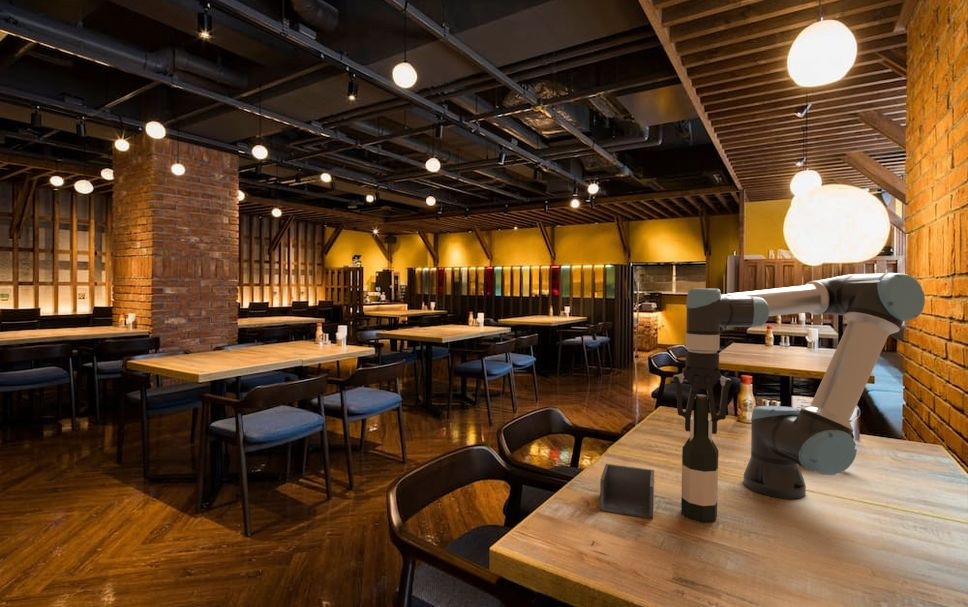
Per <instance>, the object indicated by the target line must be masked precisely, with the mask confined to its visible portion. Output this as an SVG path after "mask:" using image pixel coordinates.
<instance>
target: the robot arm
mask: <svg viewBox="0 0 968 607" xmlns="http://www.w3.org/2000/svg"><path fill="white" fill-rule="evenodd" d="M925 304H926V297H925V292H924V291H923V288H922V285H921V284H920V282H919V281H918V280H917V279H916V278H914V277H913V276H911V275H909V274H906V273H903V272H902V273H900V272H898V273H897V272H890V271H888V272H884V273H882V272H881V273H852V274H851V273H849V274H845V275H839V276H834V277H830V278H825V279H823V278H822V279H819V280H812V281H811V280H810V281H808V282H806V283H805V284H804V285H797V286H787V287H777V288H769V289H761V290H759V289H758V290H752V291H751V290H750V291H742V292H733V293H732V292H731V293H726V294H724V293H721V290H720V289H719V288H691V289H689V290H688V291H687V296H686V305H685V308H686V322H685V323H686V332H685V349H686V350H687V351H686V352H685V366H684V367H685V368H684V370H683V372H681V373H679V374H673V376H672V378H673V379H672V380H673V382H674V384H675V389H676V405H677V406H676V408H677V415H678V416H679V417H680V416H681V417H683V418H684V429H685V431H686V432H689V437H690V441H691V440H692V438H693V437H694V416H693V417H692V414H693V410H694V400H695V397H696V395H697V392H698V390H700V389H702V390H706V393H707V394H706V396H707V399H708V400H709V413H710V418H708V438H709V439H710V441H711V443H712V440H713V435H717V433H718V422H719V421H720V420H723V421H724V420H725V419H726V417H727V409H728V408H727V407H728V400H729V399H728V398H729V389H730V388H731V386H732V383H733V381H732V379H731V378H729V377H725V376H723V375H722V374H721V372H720V353H719V352H718V351H720V344H721V343H720V337H721V336H720V335H721V334H720V333H721V327H722V328H726V327H727V328H728V327H729V328H731V327H733V328H737V327H738V328H740V327H741V328H743V327H744V328H753V327H754V328H755V327H761V326H763V325H765V324H766V322H767V321H768V320H769V317H776V316H785V315H787V316H788V315H794V314H796V315H797V314H802V313H803V314H804V313H809V314H811V315H815V316H817V315H835V316H836V315H837V316H844V318H845V319H846V321H847V325H846V327H845V330H844V331H843V334H842V336H841V339H840V340H839V343H838V345H837V347H836V349H835V351H834V353H833V355H832V357H831V360H830V362H829V364H828V366H827V368H826V370H825V373H824V374H823V377H822V380H821V382H820V384H819V386H818V388H817V390H816V393H815V395H814V397H813V398H812V401H811V403H810V405H807V406H805V407H802V408H800V409H799V408H797V407H791V406H781V405H780V406H779V405H759V406H755V407H754V408H753V409H752V412H751V418H750V421H751V423H750V424H751V428H750V429H751V430H750V431H751V432H750V433H751V438H750V439H751V441H750V442H751V444H750V458H749V461H748V462H747V463H748V464H747V466H746V468H745V470H744V472H743V479H742V480H743V484H744V486H745V487H746V488H748V489H750V490H752V491H754V492H756V493H758V494H762V495H765V496H769V497H772V498H780V499H790V500H791V499H800V498H803V497H805V496H806V492H807V489H806V488H807V486H806V482H805V478H804V476H803V473H802V470H801V467H803V468H804V469H807V470H809V471H811V472H815V473H817V474H820V475H824V476H834V475H837V474H842V473H843V472H845V471H846V470H847V469H849V468H850V467H851V466H852V464H854V462H855V460H856V457H857V451H858V450H857V448H856V446H857V445H856V444H857V443H856V441H855V439H854V440H853V438H852V437H851V435H852V433H853V434H854V428H853V426H852V424H851V418H852V416H853V413H854V412H855V410H856V408H857V405H858V403H859V401H860V399H861V396H862V394H863V392H864V390H865V389H866V388H865V387H866V385H867V383H868V381H869V379H870V376H871V374H872V372H873V371H874V368H875V366H876V363H877V362H878V359H879V357H880V355H881V353H882V351H883V348H884V346H885V344H886V342H887V339H888V338H889V336H890V335H892V334H895V333H898V332H900V330H901V328H902V326H903V323H904V322H907V321H912V320H914V319H915V318H918V317H919V316H921V314H922V312H923V310H924V308H925ZM684 379H685V380H686V381H687V382H688V384H689V385H690V390H689V394H688V400H687V404H686V409H685V410H684V408H683V393H682V392H683V390H682V389H683V388H682V383H684ZM719 381H720V385H721V392H720V402H719V410H718V411H719V413H717V409H716V408H717V407H716V402H715V396H714V391H713V390H714V389H713V388H714V386H715V385H716V384H717V383H718V382H719ZM799 465H801V467H800V466H799Z"/></svg>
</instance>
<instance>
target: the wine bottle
mask: <svg viewBox="0 0 968 607" xmlns="http://www.w3.org/2000/svg"><path fill="white" fill-rule="evenodd" d="M709 411H710V407H709V400H708V395H707V394H698V393H696V395H695V400H694V404H693V418H694V437H693V438H692V440H691V441H690V436H689V438H688V439H687V440H686V441H685V443H684V444H683V446H682V448H681V449H682V452H681V453H682V454H681V455H682V456H681V458H682V459H681V495H680V496H681V497H680V498H681V501H680V502H681V503H680V504H681V507H680V508H681V509H680V512H681V515H683V516H684V518H686V519H687V520H690V521H693V522H695V523H696V522H697V523H701V524H708V523H715V522H716V520H717V518H718V493H719V492H718V489H719V487H718V484H719V483H718V482H719V481H718V480H719V478H718V477H719V449H718V447H717V445H716V444H715V441H714V440H713V439H712V443H711V441H710V439H709V438H708V419H709Z"/></svg>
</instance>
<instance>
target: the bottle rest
mask: <svg viewBox="0 0 968 607" xmlns="http://www.w3.org/2000/svg"><path fill="white" fill-rule="evenodd" d="M599 484H600V486H599V487H600V488H599V489H600V492H599V493H600V494H599V496H600V497H599V500H600V501H599V511H601V512H608V513H612V514H619V515H624V516H625V515H626V516H631V517H636V518H643V519H648V520H649V519H650V520H654V506H655V505H654V504H655V497H654V496H655V469H650V468H649V469H647V468H641V467H634V466H626V465H620V464H619V465H618V464H611V463H605V465H604V468H603V471H602V475H601V477H600V483H599Z"/></svg>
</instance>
